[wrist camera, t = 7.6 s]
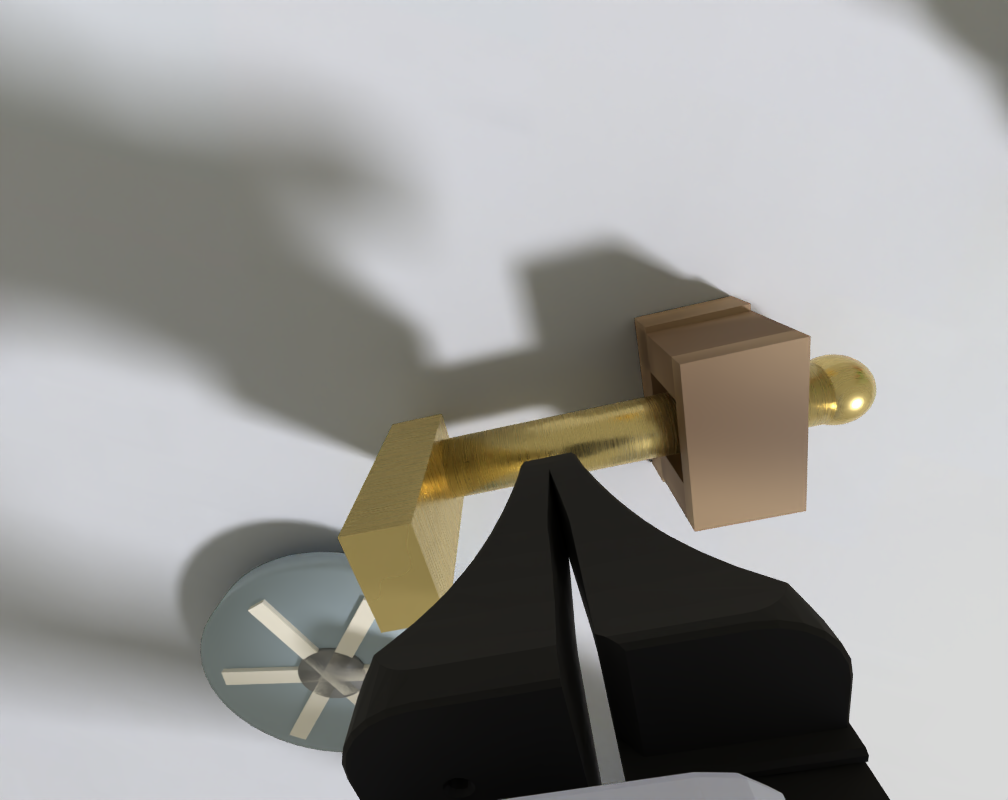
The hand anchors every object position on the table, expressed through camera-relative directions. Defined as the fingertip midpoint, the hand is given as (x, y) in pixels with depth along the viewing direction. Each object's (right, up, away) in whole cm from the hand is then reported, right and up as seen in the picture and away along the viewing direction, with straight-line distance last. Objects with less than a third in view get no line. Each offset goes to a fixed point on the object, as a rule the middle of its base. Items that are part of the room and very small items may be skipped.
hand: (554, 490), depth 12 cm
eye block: (+5, +3, +4) cm, 7 cm away
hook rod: (+2, +2, +3) cm, 4 cm away
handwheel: (-8, -8, +8) cm, 14 cm away
